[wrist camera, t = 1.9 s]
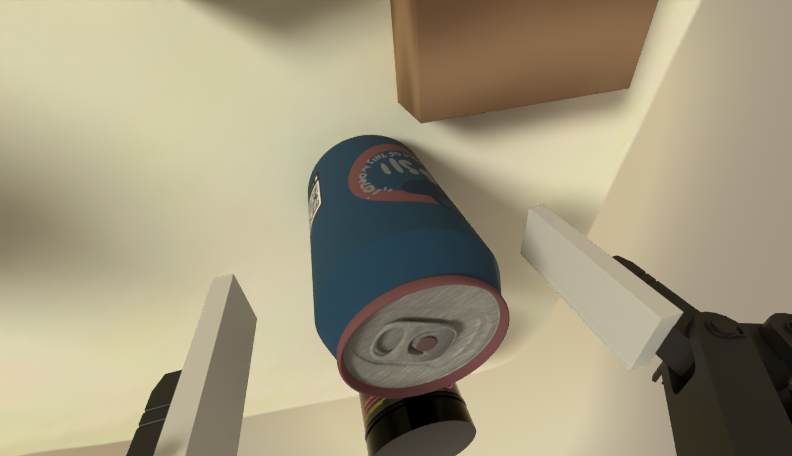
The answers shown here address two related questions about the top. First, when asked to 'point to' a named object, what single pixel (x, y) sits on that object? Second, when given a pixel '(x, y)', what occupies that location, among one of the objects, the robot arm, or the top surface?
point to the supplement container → (417, 424)
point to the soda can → (398, 273)
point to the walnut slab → (512, 52)
